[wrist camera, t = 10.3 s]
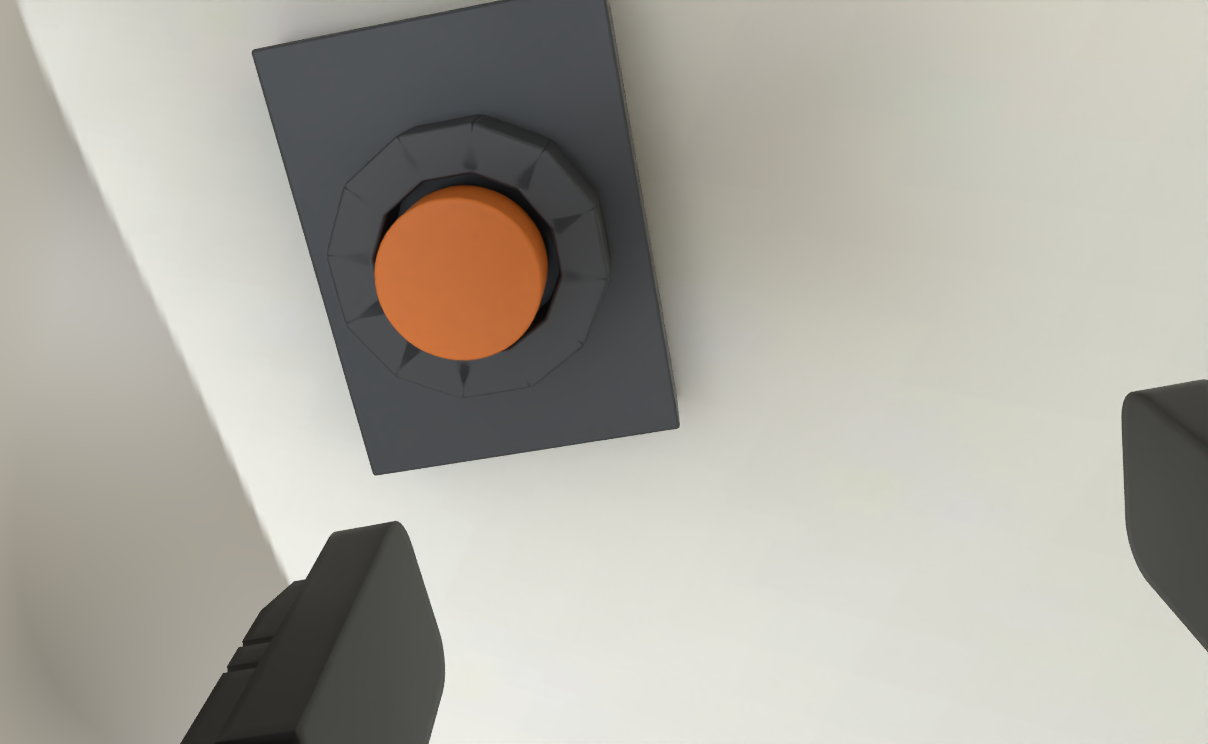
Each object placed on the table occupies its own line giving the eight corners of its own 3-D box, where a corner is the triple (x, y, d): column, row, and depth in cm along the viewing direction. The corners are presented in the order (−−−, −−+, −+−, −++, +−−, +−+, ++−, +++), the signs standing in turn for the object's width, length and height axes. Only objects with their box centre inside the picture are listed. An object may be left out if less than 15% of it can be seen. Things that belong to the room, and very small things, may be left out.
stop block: (278, 46, 27) (221, 53, 24) (605, -19, 27) (600, -22, 23) (390, 445, 31) (356, 506, 28) (677, 400, 31) (682, 456, 27)
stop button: (373, 199, 25) (354, 214, 24) (530, 171, 25) (522, 183, 23) (412, 350, 26) (397, 373, 25) (562, 325, 26) (557, 347, 24)
